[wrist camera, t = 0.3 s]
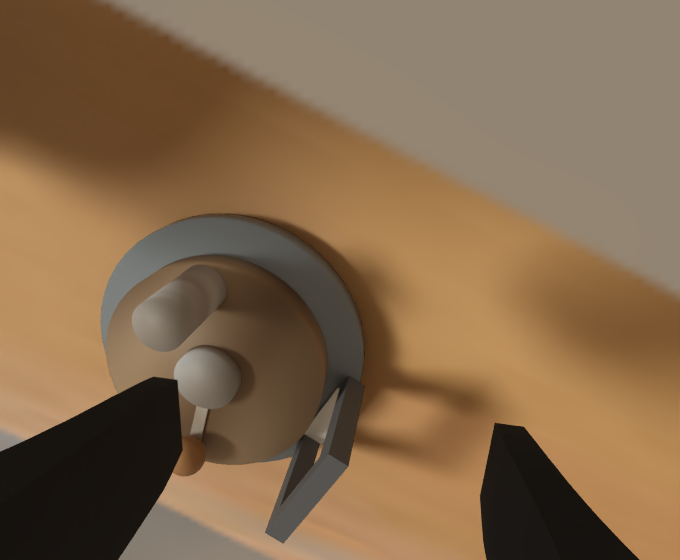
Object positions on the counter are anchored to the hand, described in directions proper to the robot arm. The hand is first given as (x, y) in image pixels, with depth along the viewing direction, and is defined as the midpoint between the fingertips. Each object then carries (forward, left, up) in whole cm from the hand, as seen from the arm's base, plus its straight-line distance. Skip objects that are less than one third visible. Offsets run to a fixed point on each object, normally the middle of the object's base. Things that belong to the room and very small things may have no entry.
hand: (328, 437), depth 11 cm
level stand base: (-4, -6, -10) cm, 12 cm away
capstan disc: (-4, -6, -9) cm, 11 cm away
